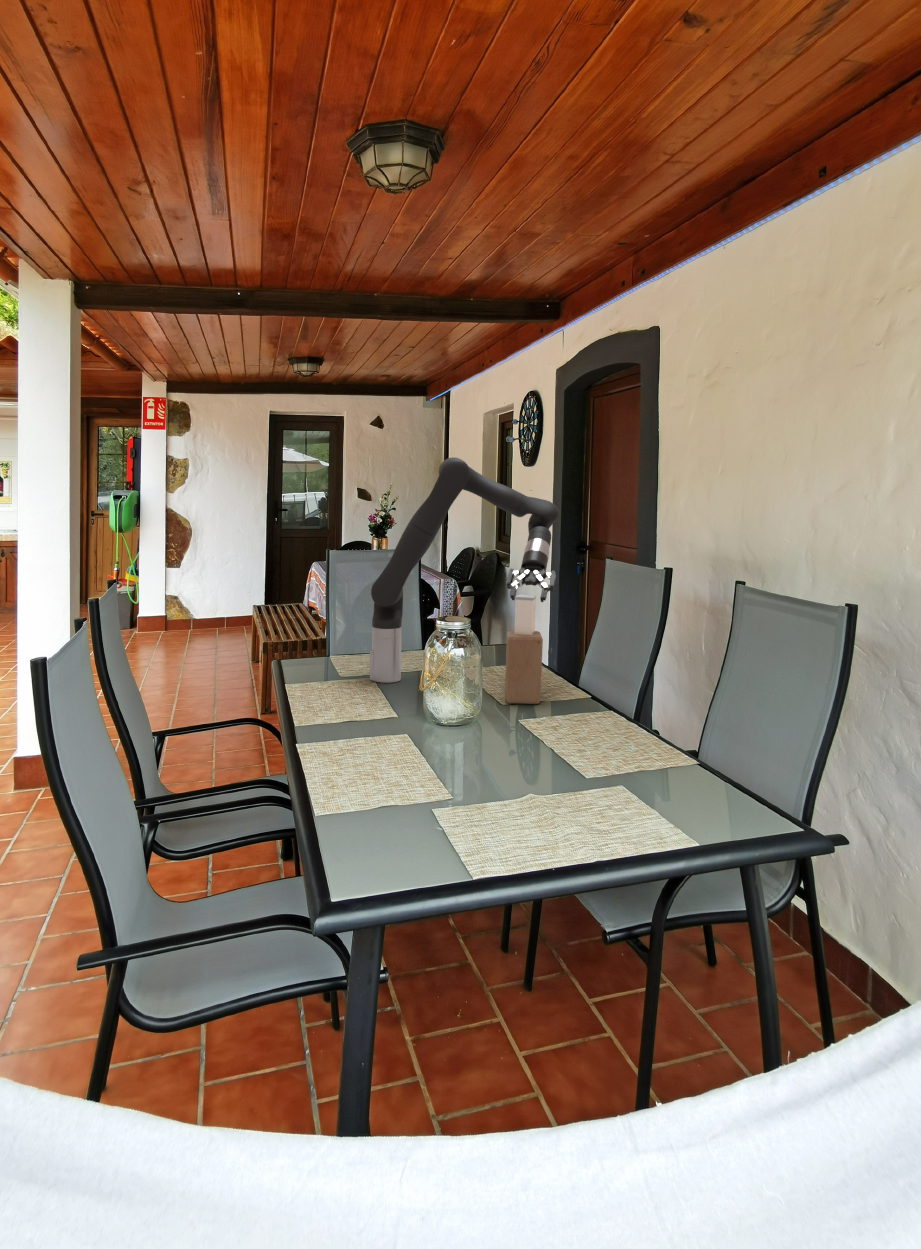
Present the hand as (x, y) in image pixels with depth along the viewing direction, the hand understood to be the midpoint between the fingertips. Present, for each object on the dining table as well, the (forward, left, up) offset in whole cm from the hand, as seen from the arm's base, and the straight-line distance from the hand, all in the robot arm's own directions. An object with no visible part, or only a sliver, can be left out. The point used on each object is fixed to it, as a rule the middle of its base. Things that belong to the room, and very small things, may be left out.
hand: (527, 599), depth 236 cm
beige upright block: (0, -2, -10) cm, 10 cm away
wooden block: (0, -2, -30) cm, 30 cm away
